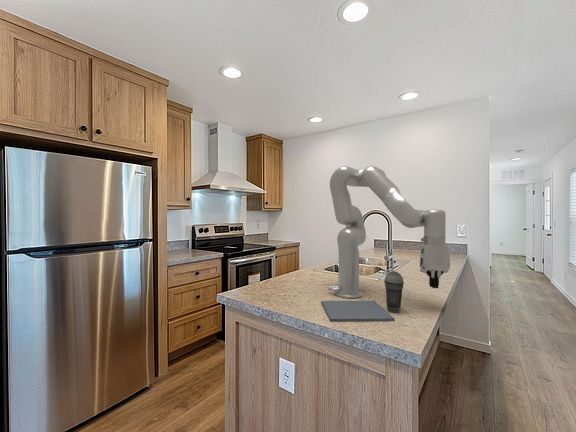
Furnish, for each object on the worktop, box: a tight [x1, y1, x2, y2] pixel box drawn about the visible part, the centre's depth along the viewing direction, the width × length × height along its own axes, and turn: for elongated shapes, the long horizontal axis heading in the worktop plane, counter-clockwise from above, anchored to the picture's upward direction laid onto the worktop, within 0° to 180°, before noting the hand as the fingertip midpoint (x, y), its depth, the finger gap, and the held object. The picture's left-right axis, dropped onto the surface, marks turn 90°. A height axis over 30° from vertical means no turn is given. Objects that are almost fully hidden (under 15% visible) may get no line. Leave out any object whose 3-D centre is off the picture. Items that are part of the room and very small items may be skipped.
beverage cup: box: [383, 259, 404, 314], centre depth 108 cm, size 7×7×20 cm
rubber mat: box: [320, 300, 396, 323], centre depth 108 cm, size 23×20×1 cm
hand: (434, 287), depth 109 cm, fingers closed
